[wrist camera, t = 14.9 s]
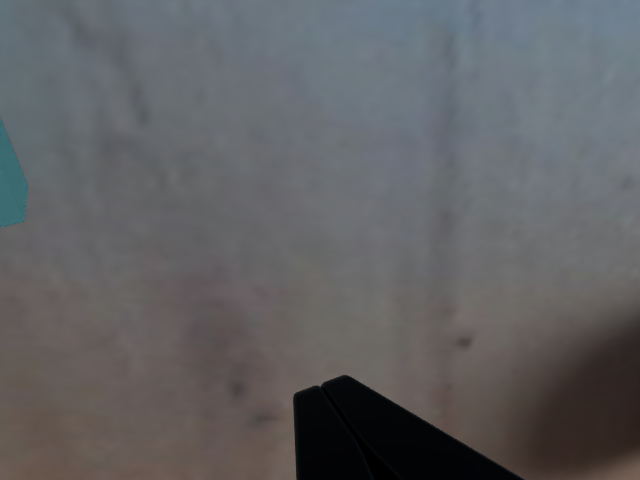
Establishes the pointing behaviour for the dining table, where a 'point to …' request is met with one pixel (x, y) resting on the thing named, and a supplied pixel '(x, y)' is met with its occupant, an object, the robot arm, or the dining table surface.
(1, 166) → the teal block holder tray
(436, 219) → the dining table surface
